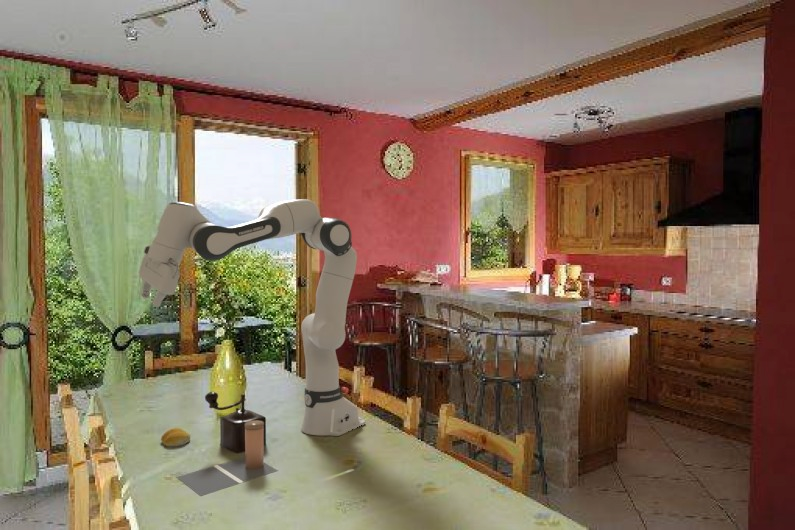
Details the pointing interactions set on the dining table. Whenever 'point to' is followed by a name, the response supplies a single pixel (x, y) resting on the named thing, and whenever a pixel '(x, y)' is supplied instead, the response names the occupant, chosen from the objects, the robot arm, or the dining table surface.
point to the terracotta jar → (254, 444)
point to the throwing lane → (222, 476)
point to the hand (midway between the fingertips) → (149, 301)
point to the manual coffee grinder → (234, 423)
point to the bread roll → (175, 437)
